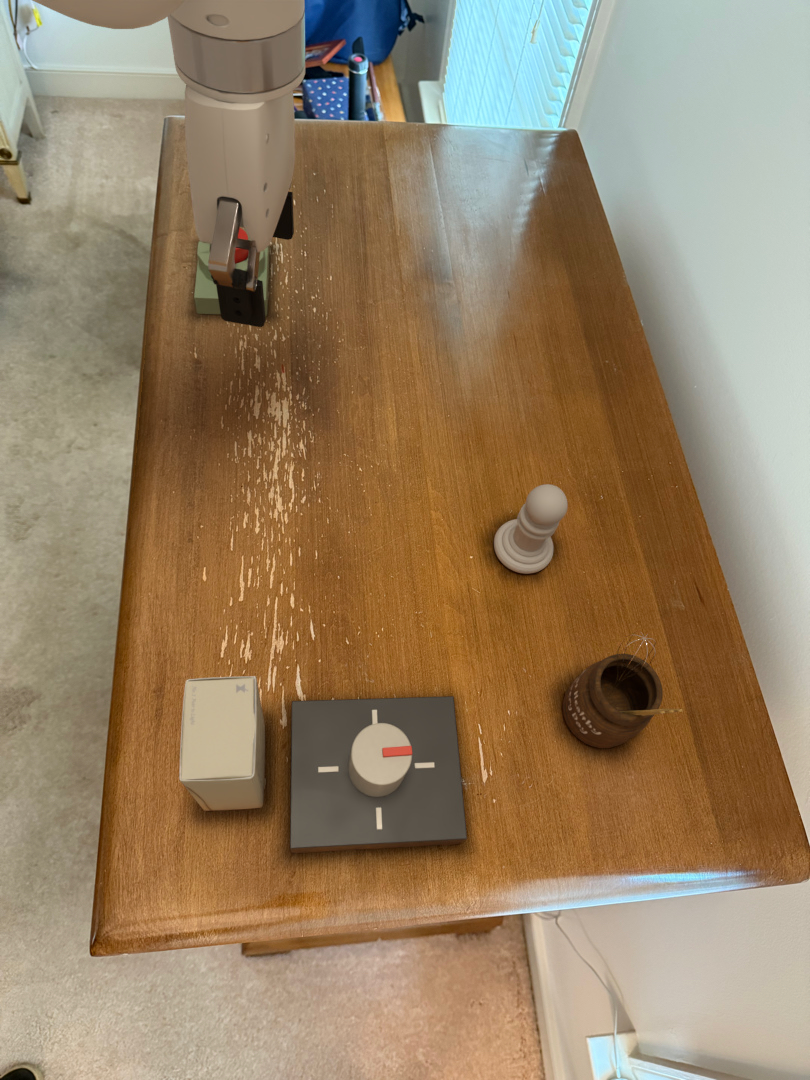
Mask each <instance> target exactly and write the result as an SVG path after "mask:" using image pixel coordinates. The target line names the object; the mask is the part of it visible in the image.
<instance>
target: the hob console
mask: <svg viewBox="0 0 810 1080" xmlns="http://www.w3.org/2000/svg"><path fill="white" fill-rule="evenodd" d="M456 717H457V716H456V708H455V697H454V695H451V696H449V695H446V696H416V697H415V696H413V697H384V698H383V697H382V698H381V697H380V698H349V699H348V698H346V699H315V700H313V699H312V700H311V699H310V700H292V701H291V718H290V719H291V720H290V721H291V722H290V728H291V729H290V731H291V732H290V739H291V740H290V803H289V804H290V805H289V807H290V809H289V811H290V812H289V849H290V853H291V854H304V853H305V854H307V853H323V852H339V851H340V852H342V851H343V852H344V851H360V850H378V849H394V848H395V849H396V848H413V847H414V848H415V847H416V848H417V847H429V846H430V847H432V846H451V845H460V844H462V843H463V842H464V841H466V840H468V833H467V821H466V813H465V810H466V809H465V801H464V800H465V799H464V791H463V780H462V770H461V759H460V748H459V739H458V738H459V736H458V728H457V718H456ZM376 723H386V724H391V725H393V726H395V727H397V728H399V729H400V730H401V731H402V732H403V733H404V734H405V735H406V736H407V738H408V740H409V742H410V744H411V746H412V761H411V764H410V767H409V769H408V771H407V773H406V775H405V777H404V778H403V780H402V782H401V784H400V785H399V787H398V788H397V789H396V790H395V791H393V792H392V793H390V794H388V795H386V796H382V797H372V796H368V795H366V794H364V793H362V792H360V791H359V790H358V789H357V788H356V787H355V786H354V784H353V783H352V781H351V778H350V775H349V759H350V754H351V749H352V745H353V742H354V740H355V738H356V736H357V735H358V734H359V733H360V732H361V731H362V730H363V729H364V728H366V727H367V726H370V725H372V724H376Z"/></svg>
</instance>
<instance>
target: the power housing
mask: <svg viewBox="0 0 810 1080" xmlns="http://www.w3.org/2000/svg"><path fill="white" fill-rule="evenodd" d="M240 228H241V229H243V230H244V231H245V232H246V230H245V229H244V228H242V227H240ZM246 233H247V232H246ZM247 235H248V234H247ZM248 240H251V239H250V238H249V236H248ZM251 241H252V240H251ZM270 249H271V248H270V245H269V246H268V247H267V248H266V249H264V250H263V251H261V252H260V258H259V269H258V280H260V281H263V293H264V305H265V317H268V304H269V303H268V302H269V275H270V254H271V253H270V251H271V250H270ZM210 250H211V244H210V243H203V242H201V241H200V240H199V241H198V242H197V252H196V256H197V264H196V275H195V285H194V293H193V295H194V296H193V301H194V305H195V311H196V314H198V315H220V316H221V313H220V307H219V300H218V294H217V287H216V285H215V284H214V282H213V279H212V278H211V273H210V271H209V269H208V261H209V255H210ZM247 263H248V257H247V259H246V260H244V261H242V262H240V263H237V264H236V267H235V268H236V269H241V270H244V271H247Z"/></svg>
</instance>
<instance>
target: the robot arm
mask: <svg viewBox="0 0 810 1080" xmlns="http://www.w3.org/2000/svg"><path fill="white" fill-rule="evenodd" d="M31 1H32V2H35V3H37V4H39V5H41V6H42V7H45V8H48V9H50V10H52V11H54V12H56V13H59V14H60V15H62V16H64V17H65V16H66V17H68V18H69V19H72V20H76V21H77V22H78V21H79V22H82V23H84V24H88V25H91V26H95V27H96V26H97V27H101V28H107V29H111V30H134V29H140V28H144V27H149V26H152V25H155V24H156V23H159V22H160V21H163V20H165V19H167V22H168V29H169V34H170V40H171V42H170V43H171V47H172V54H173V62H174V65H175V71H176V73H177V75H178V77H179V79H180V80H181V82H183V83H184V84H185V89H184V133H185V148H186V149H185V150H186V162H187V170H188V178H189V179H188V180H189V188H190V198H191V206H192V215H193V222H194V228H195V229H194V230H195V233H196V236H197V238H198V240H199V241H201V242H203V243H210V244H211V250H210V255H209V261H208V269H209V271H210V273H211V278H212V279H213V282H214V284H215V285H216V287H217V294H218V300H219V307H220V313H221V315H220V318H221V319H222V320H223V321H224V322H229V323H234V324H240V325H246V326H251V327H257V328H264V326H265V323H266V319H267V316H265V305H264V293H263V281H260V280H258V269H259V258H260V252H261V251H263V250H264V249H266V248H267V247H268V246H270V245H271V242H272V240H273V238H275V239H282V240H285V241H289V240H292V239H293V236H294V233H295V226H294V225H295V221H294V194H293V191H290V190H291V188H292V183H293V182H292V181H293V176H294V171H295V166H296V165H295V164H296V120H295V119H296V117H295V101H294V90H295V89H297V88H298V87H299V86H300V85H301V84H302V82H303V80H304V78H305V75H306V12H305V11H306V9H305V8H306V7H305V6H306V5H305V0H31ZM239 228H243V229H245V230H246V232H247V234H248V236H249V238H250V239H251V240H252V241H251V240H245V239H240V238H238V233H239ZM236 248H240V249H246V250H249V252H248V263H247V271H244V270H241V269H236V268H235V267H236V264H235V260H234V257H235V250H236Z"/></svg>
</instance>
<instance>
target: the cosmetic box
mask: <svg viewBox="0 0 810 1080" xmlns="http://www.w3.org/2000/svg"><path fill="white" fill-rule="evenodd" d="M184 683H185V684H184V692H183V699H182V700H183V701H182V714H181V729H180V747H179V774H178V778H179V782H180V783H181V784H182V785H183V786H184V787H185V789H186V790H187V791H188V793H189V794H190V795H191V796H192V798H193V799H194V800H195V802H197V804H198V805H199V806H200V807H201V809H202V810H203V811H205V812H206V811H230V810H232V811H234V810H250V809H251V810H253V809H261V808H263V806H264V800H265V799H264V797H265V772H266V770H265V769H266V723H265V717H264V711H263V706H262V702H261V697H260V695H261V694H260V689H259V686H258V684H259V683H258V679H257V676H255V675H251V676H250V675H249V676H245V675H244V676H216V677H215V676H214V677H213V676H211V677H199V678H197V677H196V678H188V679H186V680H185V682H184Z"/></svg>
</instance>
